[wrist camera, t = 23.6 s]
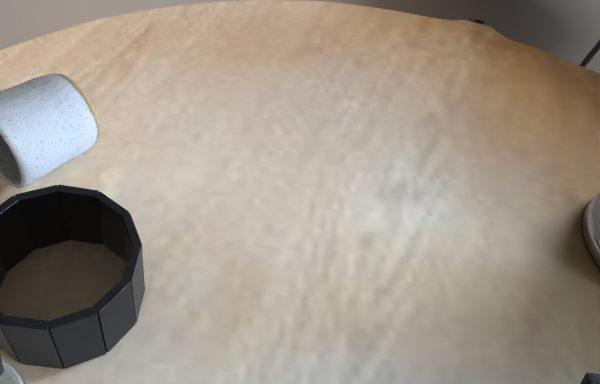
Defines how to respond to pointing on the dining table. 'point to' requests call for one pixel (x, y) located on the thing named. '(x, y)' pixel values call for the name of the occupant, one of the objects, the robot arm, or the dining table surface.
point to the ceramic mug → (43, 127)
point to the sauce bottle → (10, 375)
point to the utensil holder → (58, 228)
